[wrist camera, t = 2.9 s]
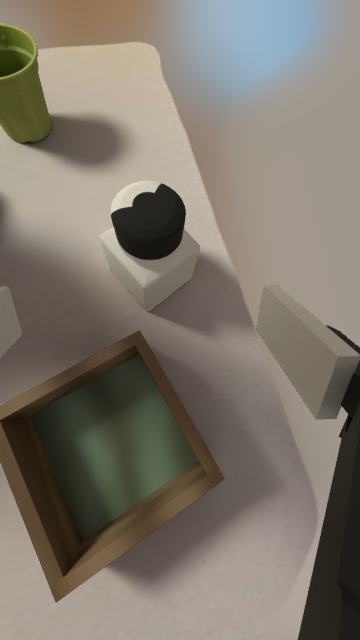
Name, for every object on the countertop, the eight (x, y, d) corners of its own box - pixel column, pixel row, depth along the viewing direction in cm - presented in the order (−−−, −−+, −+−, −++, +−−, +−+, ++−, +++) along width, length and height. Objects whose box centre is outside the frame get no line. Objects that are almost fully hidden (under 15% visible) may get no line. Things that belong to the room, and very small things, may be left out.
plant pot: (-23, 132, 36) (-76, 52, 28) (25, 93, 39) (-11, 11, 31) (32, 164, 35) (-7, 93, 27) (77, 123, 38) (54, 46, 30)
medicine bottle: (193, 278, 32) (212, 211, 21) (147, 313, 31) (141, 262, 19) (155, 238, 34) (154, 155, 22) (109, 270, 32) (82, 198, 20)
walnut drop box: (80, 553, 24) (55, 603, 18) (20, 412, 27) (-18, 415, 21) (210, 461, 27) (224, 479, 21) (143, 343, 30) (139, 330, 24)
